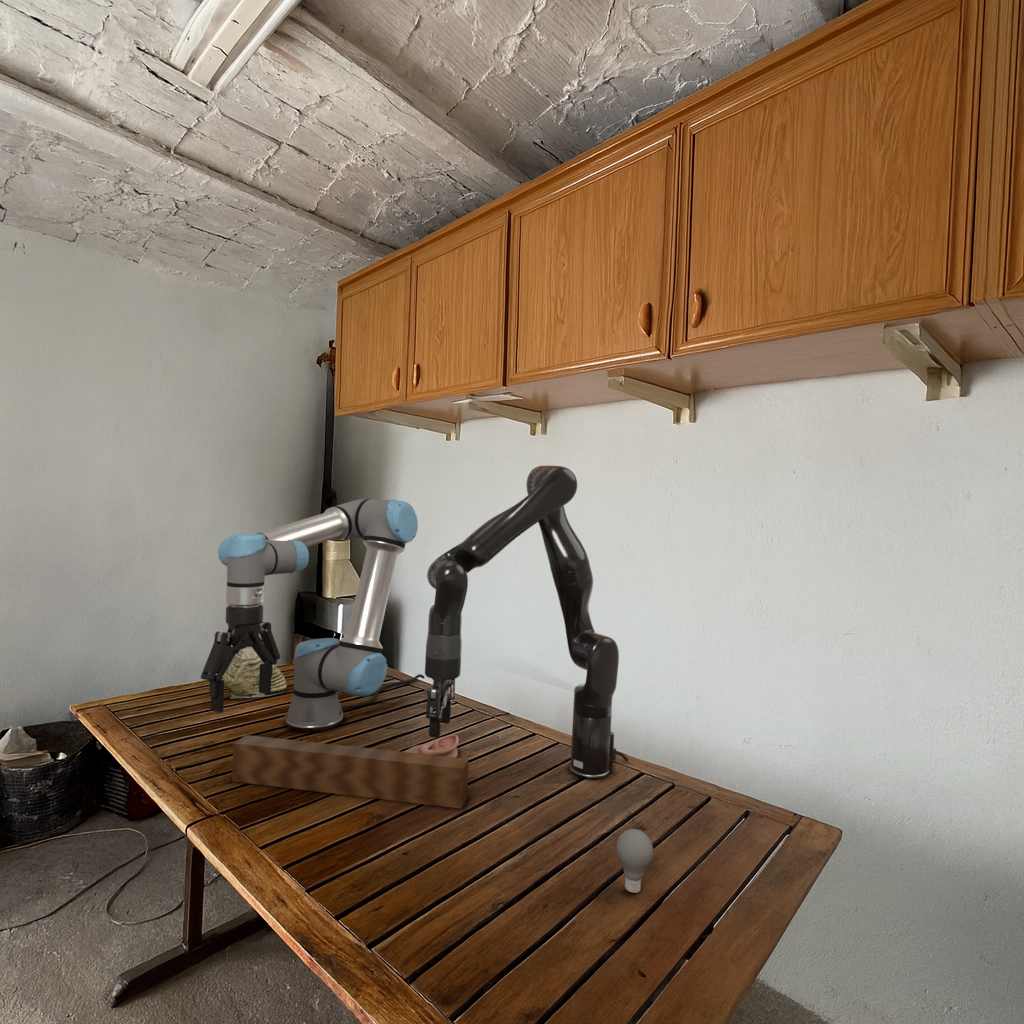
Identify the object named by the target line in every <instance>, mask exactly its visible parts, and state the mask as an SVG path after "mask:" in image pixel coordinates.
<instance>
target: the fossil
mask: <svg viewBox="0 0 1024 1024" xmlns="http://www.w3.org/2000/svg"><path fill="white" fill-rule="evenodd" d="M260 664H264V663H263V662H262V660H261V659H260V658H259V656H258V655H257V654H256V652H255V651H254V649H253V648H251V647H246V648H245V649H240V651H239V652H238V653H236V655H235V656H234V658H233V660H232V661H231V663H230V665H229V667H228V668H227V670H226V672H225V673H224V675H223V677H222V680H224V689H225V690H226V691H228V693H229V698H230V699H250V698H264V697H271V696H275V695H281V694H284V693H285V691H286V689H287V687H288V686H287V680H286V678H285V676H284V674H283V673H282V672H281V669H279V668H278V667H277V664H276V665H273V672H272V677H271V694H263V693H259V673H260Z"/></svg>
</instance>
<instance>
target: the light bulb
mask: <svg viewBox="0 0 1024 1024" xmlns="http://www.w3.org/2000/svg"><path fill="white" fill-rule="evenodd" d="M615 849H616V854H617V857H618V859H619V861H620V863H621V865H622V867H623V873H624V874H623V875H624V876H625V878H624V888H625V890H627V891H628V892H630V893H634V894H635V893H639V892H640V891H641V889H642V887H641V886H642V879H643V877H644V875H645V871H646V868H647V867H648V866H649V864H650V863H651V861H652V859H653V855H654V847H653V843H652V841H651V838H649V836H648V835H647V834H646V833H645V832H643V831H642V830H641V829H636V828H629V829H627V830H625V831H623V832H622V833H621V834H620V835H619V837H618V839H617V841H616V847H615Z"/></svg>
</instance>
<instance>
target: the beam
mask: <svg viewBox="0 0 1024 1024" xmlns="http://www.w3.org/2000/svg"><path fill="white" fill-rule="evenodd" d="M232 746H233V749H232V771H231V772H232V775H231V781H232V782H233V783H234V782H235V783H243V784H250V785H258V786H268V787H275V788H283V789H284V788H285V789H292V790H293V789H294V790H302V791H309V792H318V793H325V794H334V795H335V794H336V795H343V796H351V797H352V796H353V797H358V798H367V799H368V798H369V799H376V800H385V801H393V802H401V803H410V804H417V805H418V804H420V805H425V806H427V805H428V806H434V807H441V808H442V807H443V808H451V809H460V810H462V809H463V807H464V805H465V803H466V801H467V799H468V786H469V785H468V784H469V782H468V781H469V758H465V757H446V756H437V755H427V754H418V753H409V752H405V751H399V750H389V749H380V748H372V747H371V748H369V747H362V746H361V747H360V746H353V745H352V746H351V745H342V744H333V743H325V742H324V743H323V742H317V741H315V742H314V741H306V740H297V739H296V740H295V739H286V738H277V737H268V736H260V735H259V736H257V735H251V734H250V735H249V734H245V735H244V736H242V737H241V738H239V739H238V740H236V741H235V742H233V745H232Z"/></svg>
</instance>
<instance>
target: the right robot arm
mask: <svg viewBox="0 0 1024 1024" xmlns="http://www.w3.org/2000/svg"><path fill="white" fill-rule="evenodd" d="M525 486H526V492H527V495H526V496H525V497H524V498H523V499H521V500H519V502H517V503H516V504H514V505H513V506H511V507H508V509H505V510H504V511H501V512H500V513H498V514H496V515H495V516H493V517H492V518H490V519H488V520H487V521H485V522H484V523H483V524H481V526H479V527H478V528H476V530H474V531H473V532H472V533H471V534H470V535H468V536H467V537H466V538H465V539H464V540H463V541H461V542H460V543H459V544H457V545H455V546H454V547H452V548H450V549H449V550H447V551H446V552H444V553H442V554H441V555H440V556H438V557H437V558H436V559H434V561H433V562H432V563H430V566H428V569H427V572H426V579H427V581H428V583H429V586H431V587H432V588H433V589H435V594H434V604H433V605H431V607H430V608H429V612H428V621H427V622H428V625H427V637H426V643H425V659H424V661H425V662H424V676H425V677H426V678H429V679H432V681H433V682H432V685H431V686H430V688H428V689H427V691H426V692H427V693H426V694H427V696H426V710H425V718H426V719H429V723H428V725H429V726H428V736H429V737H430V738H435V739H438V738H440V736H441V727H442V726H441V725H442V724H446V725H448V724H450V723H451V719H452V717H451V716H452V705H453V704H454V701H455V699H456V679H458V678H459V677H460V676H461V672H462V671H461V669H462V648H463V642H462V641H463V640H462V624H463V623H462V621H463V609H464V606H465V603H466V598H467V595H468V594H467V593H468V588H469V575H468V574H469V573H470V572H471V571H473V570H474V569H476V568H483V567H484V566H485V565H487V564H488V563H489V562H490V561H492V560H493V559H494V558H495V557H496V556H497V555H499V553H501V552H502V551H503V550H505V548H506V547H508V546H509V545H510V544H511V543H512V542H514V541H515V540H516V539H517V538H519V537H520V536H522V534H524V533H525V532H526V531H527V530H530V528H532V527H533V526H535V525H536V524H538V526H539V529H540V533H541V537H542V541H543V544H544V548H545V552H546V555H547V559H548V564H549V568H550V569H549V570H550V572H551V577H552V580H553V583H554V586H555V590H556V593H557V597H558V601H559V606H560V610H561V613H562V618H563V622H564V628H565V635H566V642H567V649H568V654H569V656H570V659H571V661H572V663H573V664H574V665H575V666H576V667H578V668H580V669H582V670H584V671H586V677H585V682H584V683H580V684H577V685H576V686H574V689H573V705H572V707H573V708H572V727H571V728H572V730H571V747H570V749H571V750H570V763H569V764H570V765H569V770H570V772H571V773H572V774H573V775H575V776H577V777H580V778H583V779H590V780H593V779H594V780H596V779H603V778H606V777H608V775H609V774H612V773H613V771H614V769H613V768H614V762H615V761H616V760H617V756H620V757H622V759H623V760H624V761H625V762H628V761H629V758H628V757H627V756H626V755H625V754H624V753H623V752H621V751H617V749H616V748H615V747H614V746H615V733H614V732H613V731H612V716H613V715H612V714H613V713H612V712H613V697H614V694H615V692H616V689H617V683H618V673H619V664H620V651H619V647H618V644H617V642H616V641H615V639H613V638H612V637H610V636H608V635H604V634H602V633H598V632H596V631H595V629H594V626H593V622H592V619H591V615H590V601H591V597H592V593H593V590H594V589H593V588H594V575H593V572H592V567H591V563H590V560H589V555H588V553H587V551H586V549H585V547H584V544H583V543H582V541H581V540H580V538H579V537H578V535H577V534H576V532H575V530H574V528H573V527H572V525H571V524H570V522H569V519H568V517H567V513H566V509H565V505H567V504H569V503H570V502H571V501H572V500H573V499H574V497H575V495H576V494H577V490H578V480H577V477H576V475H575V473H574V472H573V471H572V470H571V469H569V468H567V467H566V466H561V465H539V466H535V467H534V468H532V469H531V471H530V472H529V473H528V475H527V477H526V485H525ZM434 709H435V712H434Z"/></svg>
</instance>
